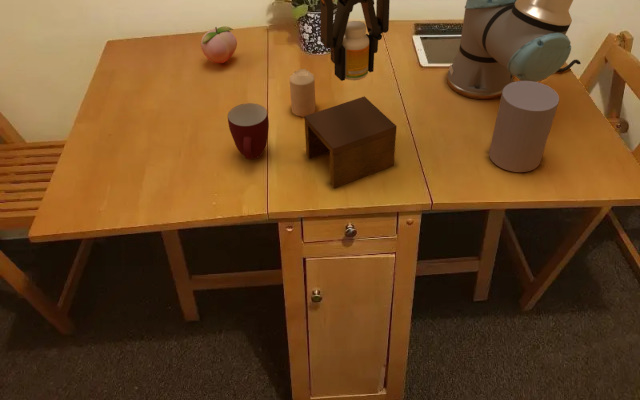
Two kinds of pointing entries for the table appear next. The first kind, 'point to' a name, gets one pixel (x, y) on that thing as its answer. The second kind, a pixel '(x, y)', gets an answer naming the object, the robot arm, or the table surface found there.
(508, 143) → the container
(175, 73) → the table surface
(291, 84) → the candle
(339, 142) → the shelf
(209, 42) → the decorative fruit
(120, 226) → the table surface
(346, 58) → the supplement bottle
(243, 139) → the mug
